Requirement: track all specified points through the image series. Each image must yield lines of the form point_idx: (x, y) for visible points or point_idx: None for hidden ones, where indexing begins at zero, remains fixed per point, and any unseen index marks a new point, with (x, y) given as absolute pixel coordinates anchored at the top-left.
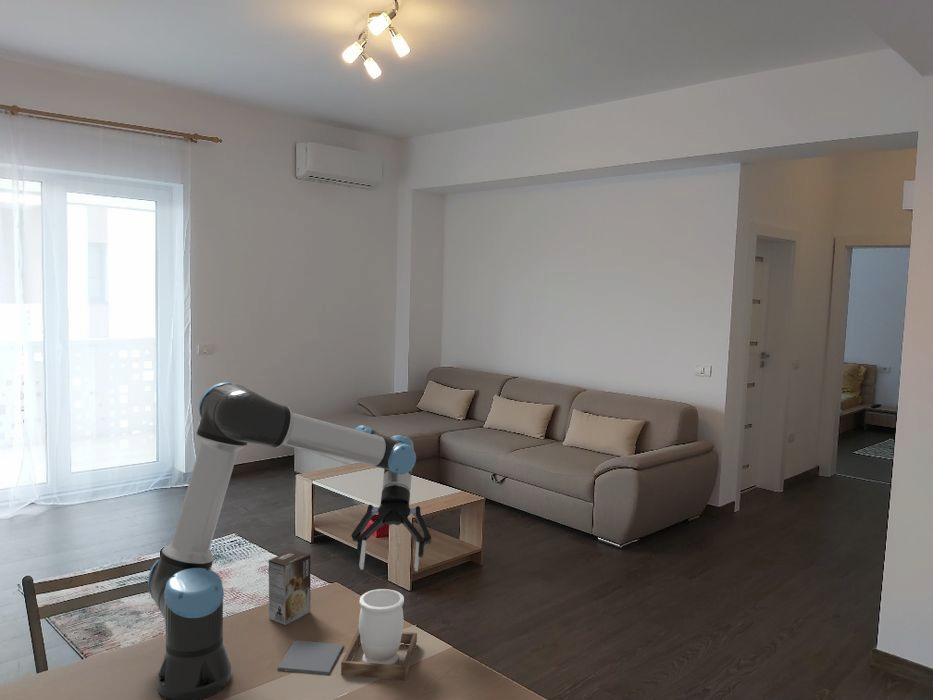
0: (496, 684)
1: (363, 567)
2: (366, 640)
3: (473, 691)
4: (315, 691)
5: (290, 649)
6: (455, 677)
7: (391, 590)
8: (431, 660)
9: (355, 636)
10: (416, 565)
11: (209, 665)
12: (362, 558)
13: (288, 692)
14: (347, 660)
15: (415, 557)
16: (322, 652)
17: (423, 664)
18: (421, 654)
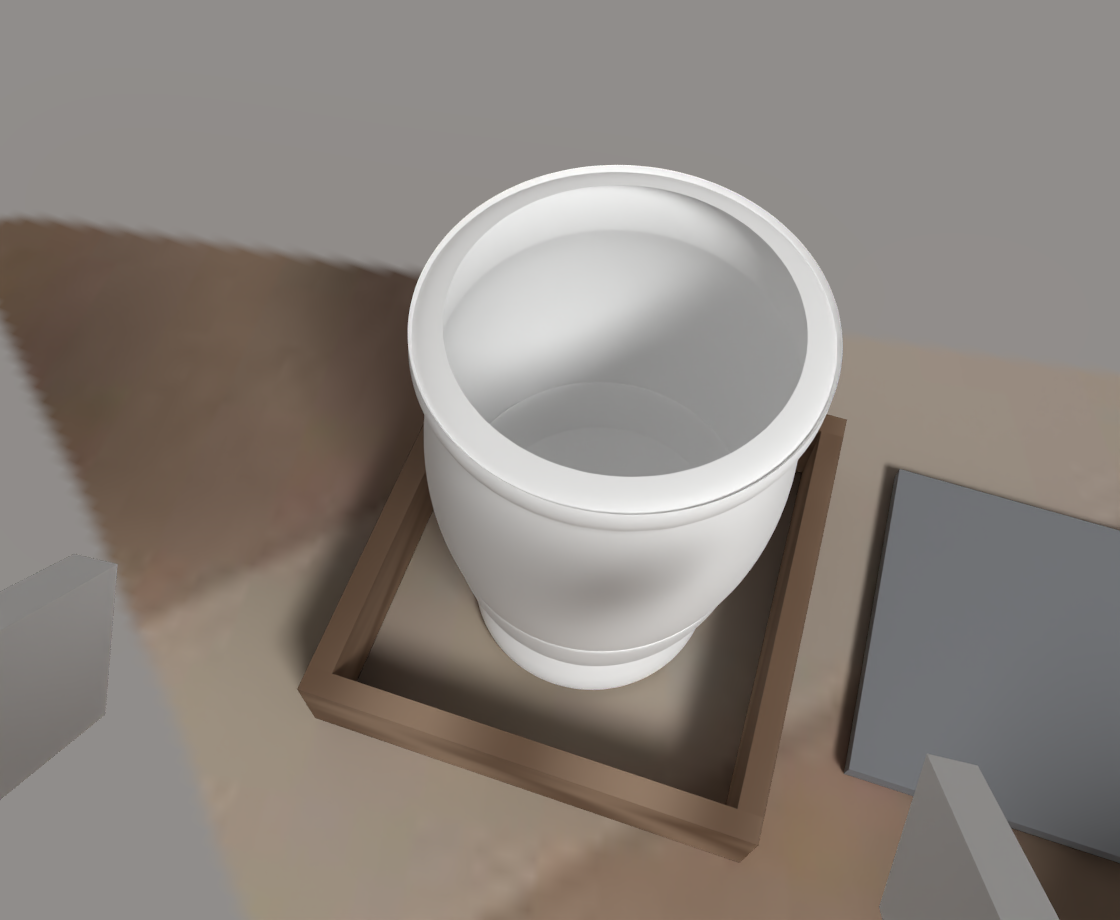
0: (23, 269)
1: (887, 916)
2: (713, 393)
3: (163, 242)
4: (940, 355)
5: None
6: (202, 349)
7: (507, 455)
8: (276, 518)
9: (776, 714)
10: (73, 564)
11: None
12: (967, 819)
13: (1076, 368)
14: (807, 479)
15: (9, 620)
16: (982, 685)
17: (337, 486)
18: (317, 592)
